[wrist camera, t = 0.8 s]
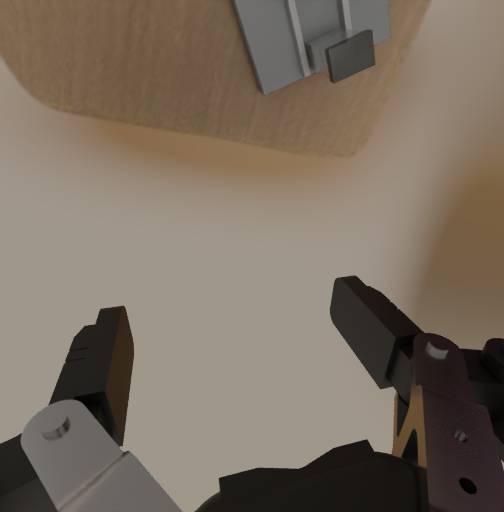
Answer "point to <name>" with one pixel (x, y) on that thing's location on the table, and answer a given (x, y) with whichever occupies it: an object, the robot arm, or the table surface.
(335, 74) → the paddle switch
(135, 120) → the table surface
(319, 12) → the panel
